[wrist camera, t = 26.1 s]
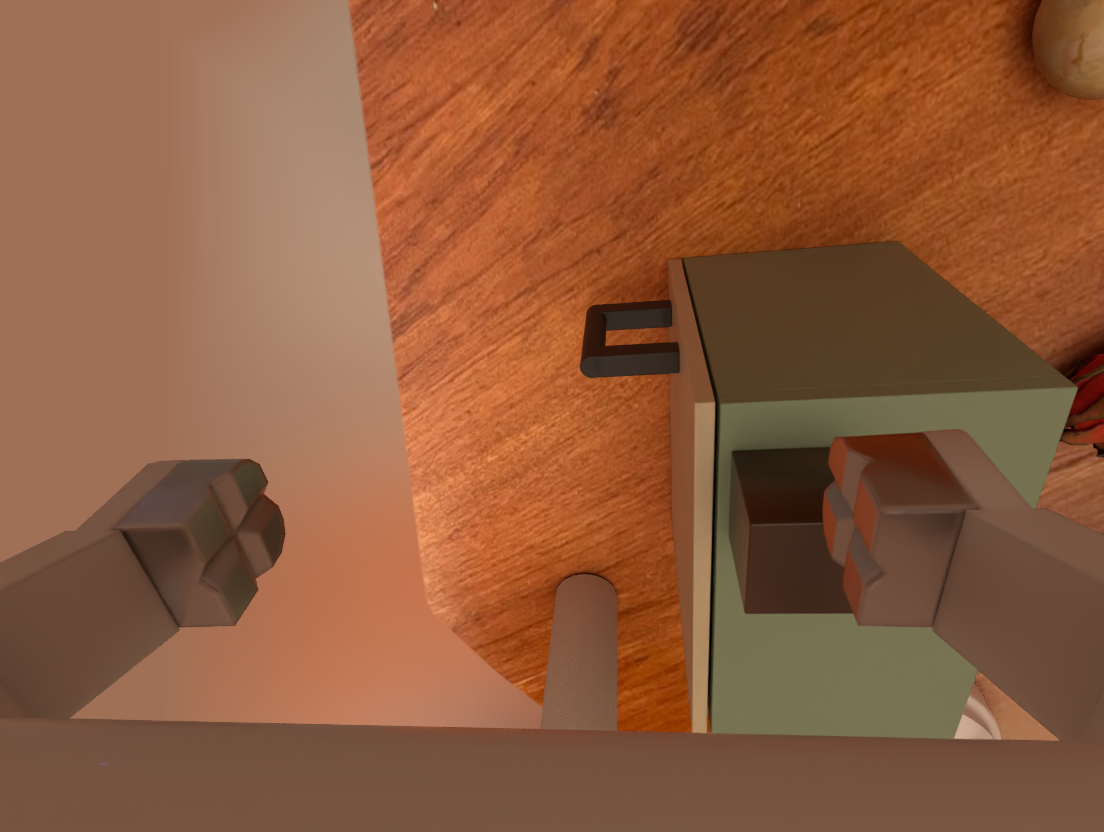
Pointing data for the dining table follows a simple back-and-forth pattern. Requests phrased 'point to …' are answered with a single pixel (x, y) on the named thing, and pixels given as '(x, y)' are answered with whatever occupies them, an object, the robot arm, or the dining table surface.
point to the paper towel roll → (582, 657)
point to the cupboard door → (674, 448)
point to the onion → (1071, 46)
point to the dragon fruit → (1087, 405)
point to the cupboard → (838, 411)
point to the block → (783, 532)
